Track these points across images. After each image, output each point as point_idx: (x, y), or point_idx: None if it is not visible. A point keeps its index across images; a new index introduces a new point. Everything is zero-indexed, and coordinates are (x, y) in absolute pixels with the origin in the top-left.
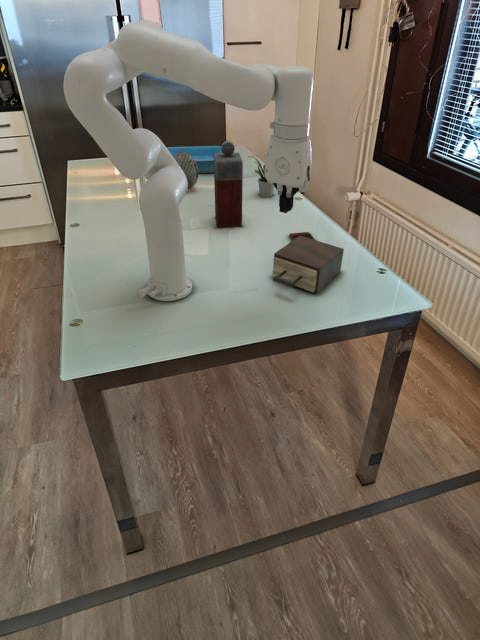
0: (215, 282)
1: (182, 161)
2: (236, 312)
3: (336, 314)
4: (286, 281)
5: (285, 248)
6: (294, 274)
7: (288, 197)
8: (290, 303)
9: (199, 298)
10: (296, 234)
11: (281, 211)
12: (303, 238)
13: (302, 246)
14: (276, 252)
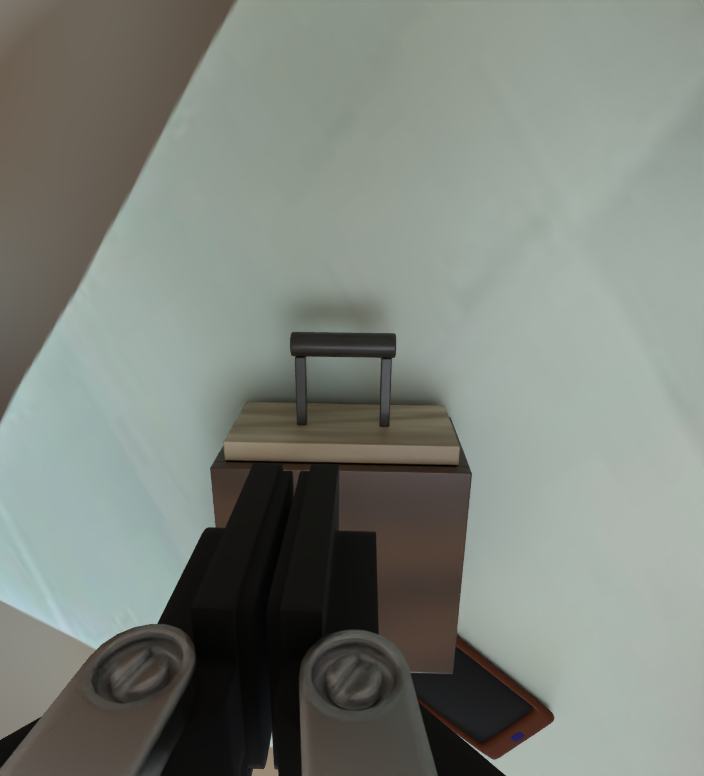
0: (659, 241)
1: None
2: (443, 81)
3: (106, 331)
4: (325, 340)
5: (448, 542)
6: (337, 424)
7: (147, 627)
8: (288, 293)
9: (661, 69)
10: (526, 725)
11: (311, 469)
12: (424, 659)
13: (389, 597)
14: (466, 486)
